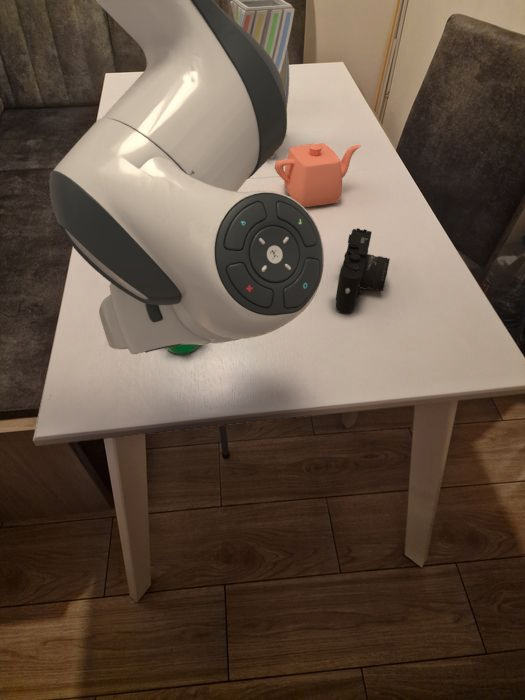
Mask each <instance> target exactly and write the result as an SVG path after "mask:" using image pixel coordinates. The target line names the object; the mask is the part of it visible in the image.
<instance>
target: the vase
mask: <svg viewBox="0 0 525 700" xmlns="http://www.w3.org/2000/svg"><path fill="white" fill-rule="evenodd" d="M230 7H231V13H232V17H233V20H234V21H235V22H236V23H238V24H239V25H240V26H241V27H242V28H243V29H244V30H245V31H246V32H248V33H249V34H250V35H251V36H252V37H253V38H254V39H255V40H256V41H257V42H258V43H259V44H260V45H261V46H262V47H263V49H264V50H265V51H266V52H267V53H268V55H269V56H270V57H271V59H272V60H273V62H274V63H275V65H276V67H277V69H278V71H279V74H280V76H281V79H282V83H283V87H284V91H285V97H286V107H287V108H288V101H289V95H290V94H289V93H290V61H289V51H288V44H289V41H290V35H291V31H292V26H293V21H294V20H293V19H294V16H295V15H294V14H295V7H294V6H293V5H292V4H291V3H289V2H287V1H285V0H230ZM275 154H276V152H275V153H274V154H273V155H272V156H271V157H270V158H269V159H268V160H270V159H275Z"/></svg>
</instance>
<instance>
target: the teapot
mask: <svg viewBox="0 0 525 700" xmlns="http://www.w3.org/2000/svg"><path fill="white" fill-rule="evenodd" d="M361 146H362V145H361V144H354V145H352V146H350V147H349V148H347V149H346V151H345V152H344V154H343V156H342V159H340V157H339V156H338V154H337V153H336V152H335V151H334V150H333V149H332V148H331V147H330V146H329V145H327V144H326V143H324V142H323V143H322V142H321V143H311V144H303V145H301V144H300V145H294V146H291V147H290V148H289V151H288V154H287V156H286V158H285V159H279V160H277V161H275V163H274V170H275V172H276V174H277V175H278V176H279V177H280V178H281V179H282V180H283V182H284V186H285V189H286V191H287V193H288V195H289V197H291V198H292V199H294V200H296V201H297V202H298V203H300V204H301V205H302V206H303V207H304V208H306V207H317V206H323V205H328V204H334V203H337V202H338V201H339V200H340V198H341V196H342V192H343V178H345V176H346V175H347V173H348V170H349V166H350V163H351V159H352V158H353V157H352V156H353V155H354V154H355V152H356V151H357V150H358V149H360V148H361Z"/></svg>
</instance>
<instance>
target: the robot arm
mask: <svg viewBox="0 0 525 700" xmlns="http://www.w3.org/2000/svg"><path fill="white" fill-rule="evenodd" d="M94 1H95V2H96V3H97V4H98V5H99V6H100V7H101V8H102V9H103V10H104V11H105V12H106V13H107V14H108V15H109V16H110V17H112V19H113V20H114V21H115V22H116V23H117V24H118V25H119V27H121V28H122V29H123V30H124V31H125V32H126V33H127V34H128V35H129V36H130V37H132V39H133V40H134V41H135V42H136V43H137V44H138V46H139V47H140V48H141V49H142V51H143V54H144V56H145V62H146V68H145V70H143V72H142V73H141V75H140V76H139V77H138V78H137V79H136V80H135V81H134V82H133V83H132V84H131V85H130V87H129V88H128V89H127V90H126V91H125V92H124V93H123V95H122V96H121V97H119V98H118V100H116V102H115V103H114V104H113V105H112V106H111V107H110V108H109V110H108V111H107V112H106V113H105V114H104V115H103V116H102V117H101V118H99V119H97V120H96V121H95V122H94V123H93V125H92V126H91V127H89V129H88V130H87V131H86V132H85V133H84V134H83V135H82V136H81V138H80V139H79V140H78V141H77V142H76V143H75V144H74V145H73V146H72V148H71V149H70V150H69V151H68V152H67V153H66V154H65V156H64V157H63V158H62V159H61V160H60V161H59V162H58V164H57V165H56V166H55V167H54V169H53V170H52V171H49V172H50V173H49V182H48V184H49V185H48V186H49V196H50V201H51V206H52V209H53V213H54V216H55V219H56V222H57V225H58V227H59V229H60V231H61V232H62V234H63V235H64V237H65V238H66V240H67V242H69V244H70V245H71V246H72V248H73V249H74V250H75V251H76V252H77V253H78V255H80V256H81V258H82V259H83V260H84V261H85V262H86V263H87V264H88V265H89V266H91V267H92V269H94V270H95V271H96V272H97V273H98V274H100V276H102V277H103V278H104V279H105V280H106V281H108V282H110V284H109V292H110V294H109V295H108V296H106V297H105V298H104V299H103V300H102V301H101V303H100V306H99V310H98V315H99V318H100V321H101V325H102V328H103V329H102V330H103V333H104V335H105V338H106V341H107V344H108V346H109V347H110V348H111V349H114V350H128V351H129V353H130V354H131V355H138V354H143V353H150V352H153V351H158V350H163V349H168V347H175V346H180V345H183V344H195V345H198V346H201V345H203V346H204V345H205V346H206V345H208V344H222V343H223V344H224V343H229V342H235V341H239V340H243V339H252V338H256V337H261V336H265V335H267V334H269V333H272V332H275V331H276V330H279V329H281V328H282V327H284V326H286V325H287V324H289V323H291V322H292V321H294V319H296V318H298V317H299V316H300V315H302V313H303V312H304V311H305V310H306V309H307V308H308V306H309V305H310V304H311V303H312V301H313V299H314V298H315V296H316V294H317V292H318V290H319V287H320V285H321V281H322V279H323V278H322V277H323V273H324V267H325V265H324V264H325V263H324V262H325V255H324V254H325V253H324V244H323V239H322V236H321V232H320V229H319V226H318V225H317V224H316V221H315V220H314V218H313V217H312V215H311V214H310V212H309V211H308V210H307V209H306V207H303V206H302V205H301V204H300V203H298V202H297V201H296V200H294V199H292V198H291V197H290V195H289V196H288V195H286V194H284V193H282V192H278V191H273V190H250V191H239V190H240V188H241V187H243V185H244V184H245V182H246V181H247V180H248V179H250V178H252V176H254V174H256V173H257V172H258V171H259V170H260V168H262V167H263V166H264V164H265V163H266V162H267V161H268V160H270V159H269V158H270V157H271V156H272V155H273V154H274V153H275V154H276V152H277V151H278V150H279V149H280V148H281V147H282V145H283V143H284V142H285V140H286V135H287V131H288V110H287V109H288V106H287V107H286V97H285V91H284V87H283V83H282V79H281V76H280V74H279V71H278V69H277V67H276V65H275V63H274V62H273V60H272V59H271V57H270V56H269V55H268V53H267V52H266V51H265V50H264V49H263V47H262V46H261V45H260V44H259V43H258V42H257V41H256V40H255V39H254V38H253V37H252V36H251V35H250V34H249V33H248V32H246V31H245V30H244V29H243V28H242V27H241V26H240V25H239V24H238V23H236V22H235V21H234V18H232V17H231V15H229V14H228V13H226V11H224V9H223V8H221V7H220V6H219V4H218V3H216V1H214V0H94Z"/></svg>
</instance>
